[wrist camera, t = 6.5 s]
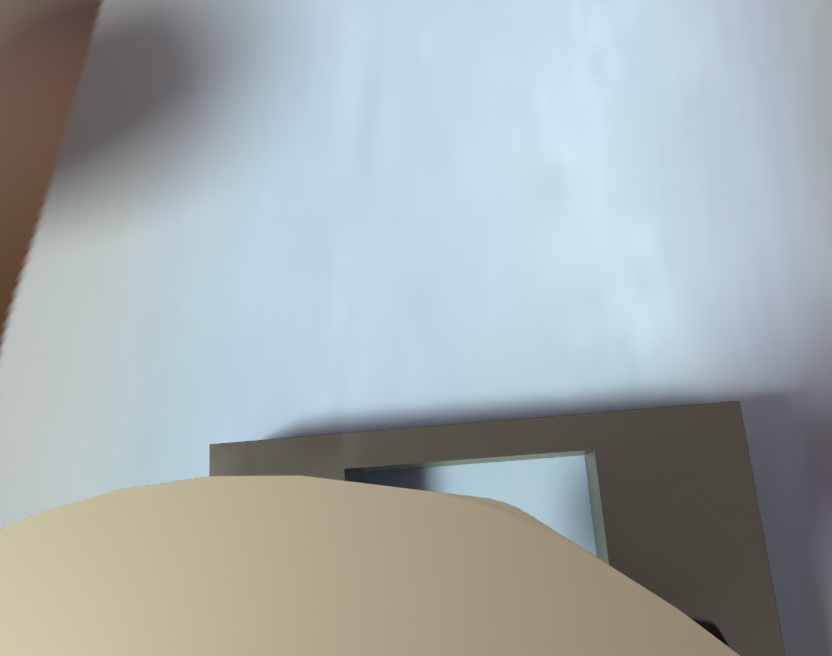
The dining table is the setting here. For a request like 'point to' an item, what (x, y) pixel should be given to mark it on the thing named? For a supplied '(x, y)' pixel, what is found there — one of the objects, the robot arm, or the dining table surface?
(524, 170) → the dining table surface
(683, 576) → the dark grey peg holder
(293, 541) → the cream round peg
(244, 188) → the dining table surface
